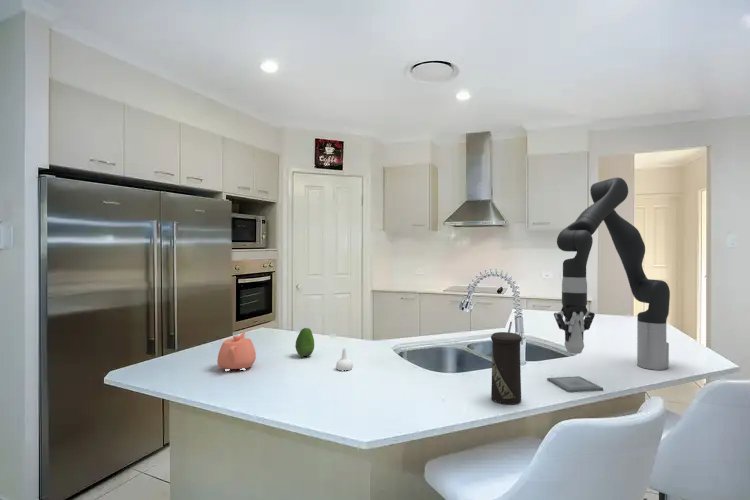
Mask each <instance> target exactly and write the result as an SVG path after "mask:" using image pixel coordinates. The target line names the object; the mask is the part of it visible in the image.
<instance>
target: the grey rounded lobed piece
mask: <svg viewBox="0 0 750 500" xmlns="http://www.w3.org/2000/svg"><path fill="white" fill-rule="evenodd" d="M574 319H575V320H574V325H573V326H572V331H571V338H570V336H569V341H568V342H567V341H565V340H564V347H565V349H566V351H567V353H569V354H576V355H578V354H581V353H582V352H583V350H584V347H585V343H584V336H583V337H582V332H581V328H580V322H579V321H580V320H581V317H580V315H579V314H576V317H574ZM569 322H570V321H569Z"/></svg>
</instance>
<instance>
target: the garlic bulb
mask: <svg viewBox="0 0 750 500" xmlns="http://www.w3.org/2000/svg"><path fill="white" fill-rule="evenodd" d="M353 366H354V363H353V362H352V360H351V359H349V358H348V356H347V351H346V348H342V353H341V358H340V359H338V361H336V364H335V369H336V370H337V369H338V370H337V371H339V370H349V371H351V370H352V369H353V368H354V367H353ZM350 369H351V370H350Z"/></svg>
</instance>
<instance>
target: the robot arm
mask: <svg viewBox="0 0 750 500" xmlns="http://www.w3.org/2000/svg"><path fill="white" fill-rule="evenodd" d="M589 189H590V190H589V191H590V196H591V200H592V202H593V204H591V205H589V206H588V207H587V208H585V209H584V210H583V211H582V212H581V213H580V214H579V216H578V217H577V218H576V219H575V221H573V222H572V223H570V224H569V225H568V226H566V227H565V228H563V229H562V230H561V231H560V232H559V234H558V236H557V239H556V244H557V247H558V249H559V250H560V251H563V252H568V253H569V252H571V253H572V252H574V253H575V252H576V253H575V256H574V257H572V258H567V259H564V260H563V262H562V279H561V305H562V307H561V310H560V311H559V312H554V313H553V316H554V319H555V321H556V323H557V326H558V329H559V330H562V331H564V342H565V341H567V342H568V341H569V336H570V338H571V331H572V326H573V325H574V320H575V319H574V317H576V314H579V315H580V317H581V320H580V321H579V322H580V328H581V332H582V337H583V338H584V332H585V331H588V330H590V328H591V325H592V323H593V322H594V318H595V316H596V313H594V312H591V311H588V309H587V305H588V282H587V264H588V260H589V257H590V253H591V250H592V246H593V243H594V242H593V240H594V238H593V236H592V235H594V233H595V232H596V231H597V229H598V228H599V226H600V225H601V223H603V222H604V224H605V226H606V228H607V231H608V232H609V235H610V237H611V239H612V243H613V245H614V248H615V250H616V252H617V254H618V256H619V259H620V261H621V263H622V267H623V268H624V271H625V274H626V277H627V280H628V283H629V288H630V291H631V293H632V295H633V297H634V299H635V300H636V301H638V302H640V303H645V304H648V306H647V307H648V308H647V309H646V310H644V311H641V312H638V313H637V320H636V321H637V322H636V323H637V325H636V326H637V327H636V328H637V329H636V330H637V333H636V334H637V338H636V340H637V342H636V346H637V347H636V350H637V351H636V352H637V353H636V354H637V355H636V356H637V357H636V362H637V363H636V365H637V366H638V367H640V368H643V369H647V370H652V371H653V370H656V371H663V370H667V369H669V368H670V367H669V366H670V365H669V363H670V360H669V359H670V358H669V357H670V352H669V351H670V348H669V347H670V346H669V345H670V343H669V342H667V320H668V316H669V313H670V301H671V300H670V299H671V291H670V287H669V284H668V283H667V282H666V281H664V280H662V279H650V278H649V279H648V277H647V276H646V274H645V272H644V269H643V262H644V258H645V254H646V245H645V242H644V240H643V237H642V234H641V232H640V231H639V230H638V228H637V227H636V226H635V225H633V224H632V223H630V222H629V221H628V220H626V219H625V218H623V217H622V216H621V215H619V214H618V212H617V211H616V210H615V209H616V208H617V207H618V206H620V205H621V204H622V203H623V202H624V201H626V199H627V197H628V196H629V187H628V183H627V182H626V181H625V179H623V178H621V177H613V178H608V179H605V180H602V181H598V182H595V183H593V184H592V185H591V186H590V188H589ZM569 321H570V322H569Z"/></svg>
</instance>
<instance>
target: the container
mask: <svg viewBox="0 0 750 500" xmlns="http://www.w3.org/2000/svg"><path fill="white" fill-rule="evenodd" d="M490 339H491V341H492V349H491V352H492V353H491V354H492V355H491V393H490V394H491V397H490V398H491V400H492V401H494V402H496V403H499V404H502V405H503V404H504V405H518V404H520V403H521V402H522V382H521V381H522V376H521V375H522V374H521V372H522V371H521V369H522V368H521V341H523V337H522V336H521V335H520V334H518V333H515V332H509V331H506V332H505V331H499V332H494V333H493V334H491V335H490Z"/></svg>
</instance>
